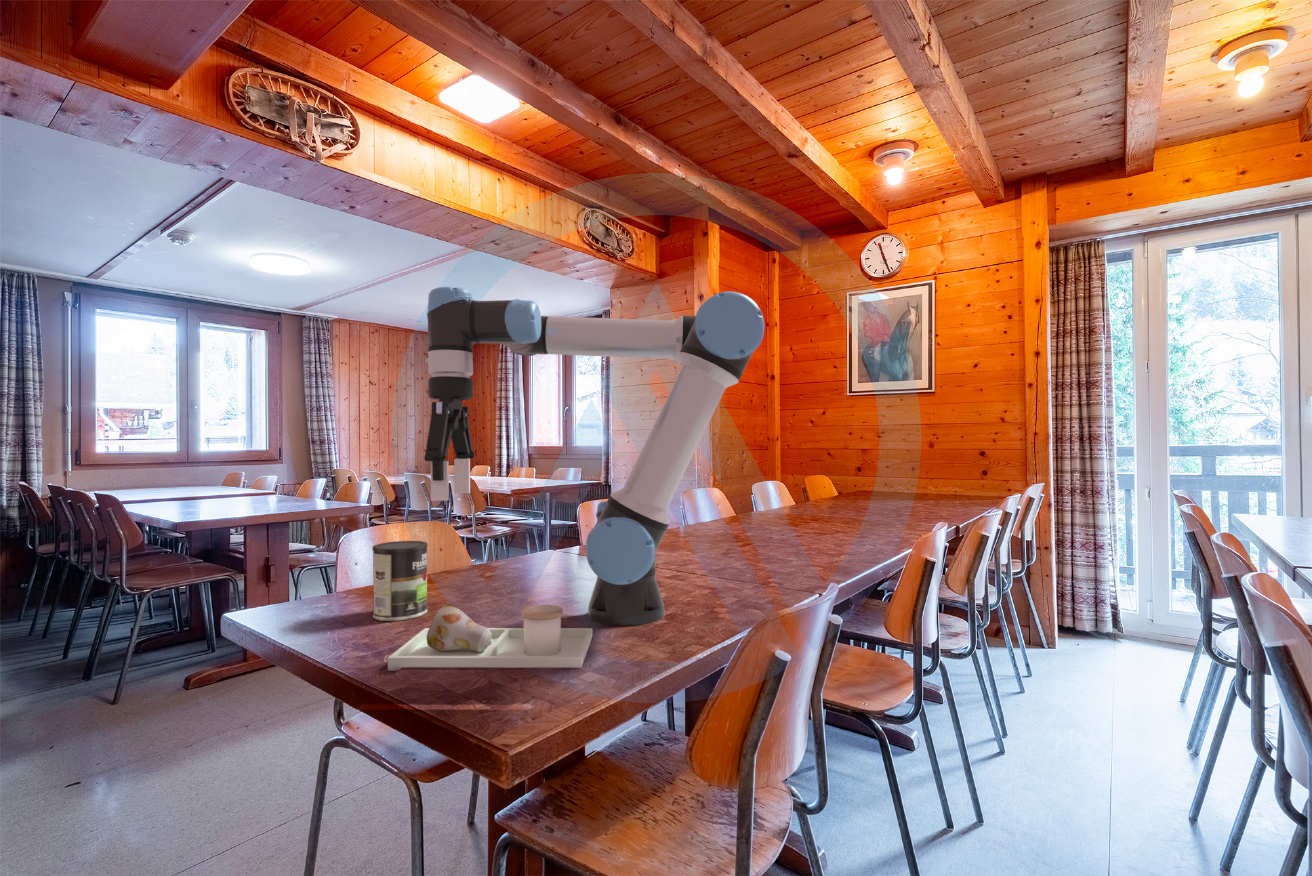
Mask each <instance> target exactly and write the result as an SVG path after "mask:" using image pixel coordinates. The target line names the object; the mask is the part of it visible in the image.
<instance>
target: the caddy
mask: <svg viewBox="0 0 1312 876" xmlns="http://www.w3.org/2000/svg"><path fill="white" fill-rule="evenodd" d="M429 628H430V627H424V628H423V629H422V630H421V631H420V632H418V633H417V634H416V635H414V636H413V637H412V638H410V640H409V641H406V642H405V644H403V645H402V646H401V647H399V648H398V649H397V650H395V651H394V652H393V653H392V654H391V655H390V656H388V657H387V671H388V672H390V671H391V672H398V671H400V670H401V669H402V668H512V669H513V668H521V669H522V668H523V669H524V668H525V669H526V668H527V669H528V668H531V669H532V668H533V669H534V668H539V669H540V668H543V669H544V668H545V669H546V668H548V669H549V668H555V669H556V668H561V669H562V668H564V669H565V668H566V669H567V668H568V669H569V668H570V669H571V668H573V669H574V668H575V669H577V668H578V669H579V668H580V669H581V668H582V667H583V665H584V661H585V659H586V656H587V653H588V650H589V648H590V645H591V643H592V638H593V628H592V627H584V628H583V627H582V628H581V627H573V628H572V627H563V628H562V627H561V651H560V652H559V653H557V654H555V655H552V656H528V655H526V654H524V627H488V628H489V630H490V632H491V633H492V638H491V644H490V645H488V647H487V648H486V649H485V650H484V651H481V652H476V651H473V650H468V649H461V650H453V651H438V650H435V649H433V648H431V647H430V646H428V644H427V634H428V631H429Z"/></svg>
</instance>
